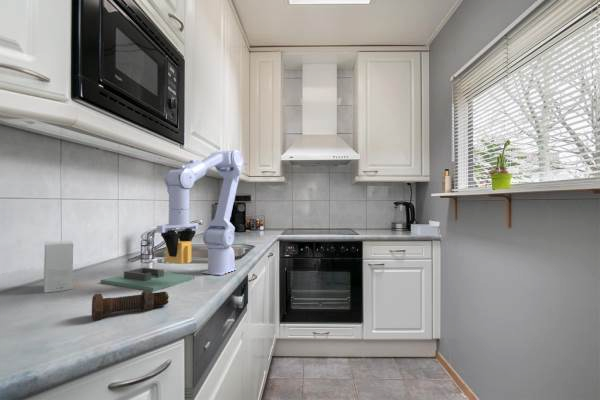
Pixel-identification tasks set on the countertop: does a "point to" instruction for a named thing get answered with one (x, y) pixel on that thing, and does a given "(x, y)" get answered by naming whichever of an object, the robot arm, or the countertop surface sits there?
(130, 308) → the bolt
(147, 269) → the board
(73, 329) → the countertop surface
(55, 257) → the small box
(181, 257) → the yellow arched block
